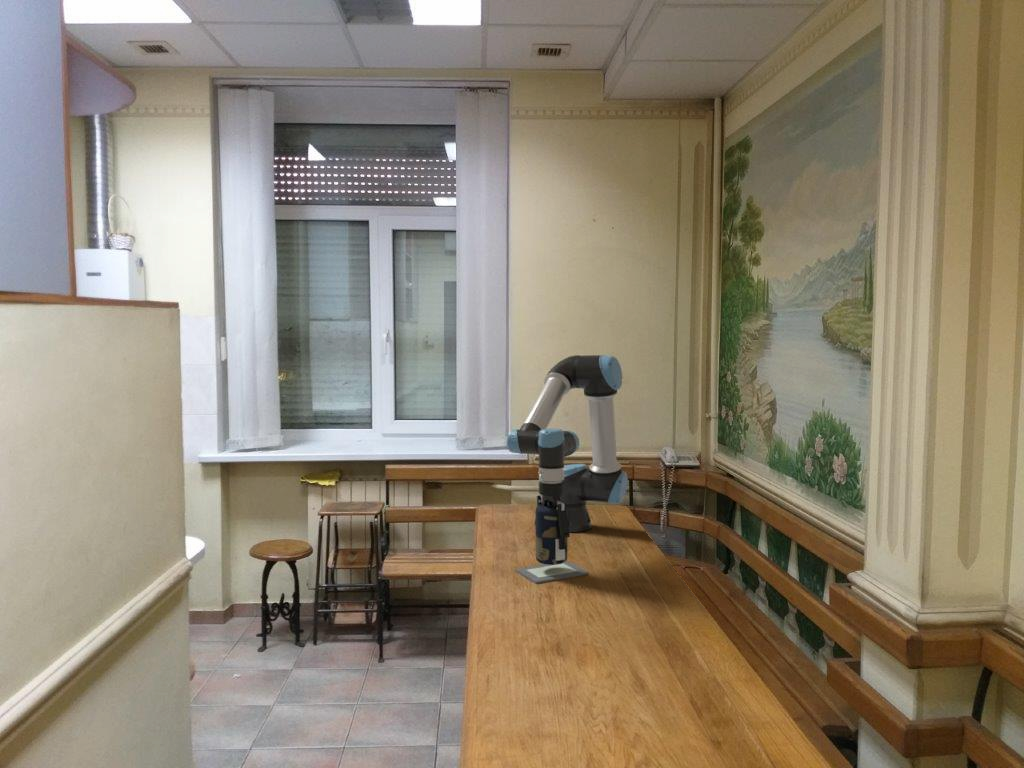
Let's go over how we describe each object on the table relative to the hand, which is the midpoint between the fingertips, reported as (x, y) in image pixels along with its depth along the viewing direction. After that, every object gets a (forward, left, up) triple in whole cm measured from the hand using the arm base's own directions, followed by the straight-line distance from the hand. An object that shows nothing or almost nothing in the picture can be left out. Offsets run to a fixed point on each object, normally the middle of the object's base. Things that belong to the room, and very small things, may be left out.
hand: (551, 555), depth 216 cm
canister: (0, 0, -2) cm, 2 cm away
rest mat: (0, 0, -5) cm, 5 cm away
